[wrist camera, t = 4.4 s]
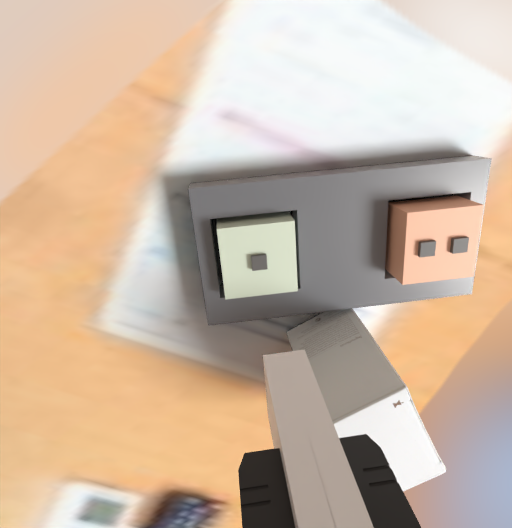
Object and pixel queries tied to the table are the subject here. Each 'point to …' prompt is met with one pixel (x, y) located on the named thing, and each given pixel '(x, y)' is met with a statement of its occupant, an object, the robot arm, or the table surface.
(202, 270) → the board
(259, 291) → the pale green button
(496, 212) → the table surface
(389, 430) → the small box
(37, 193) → the table surface
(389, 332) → the table surface
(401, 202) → the peach rectangular block
